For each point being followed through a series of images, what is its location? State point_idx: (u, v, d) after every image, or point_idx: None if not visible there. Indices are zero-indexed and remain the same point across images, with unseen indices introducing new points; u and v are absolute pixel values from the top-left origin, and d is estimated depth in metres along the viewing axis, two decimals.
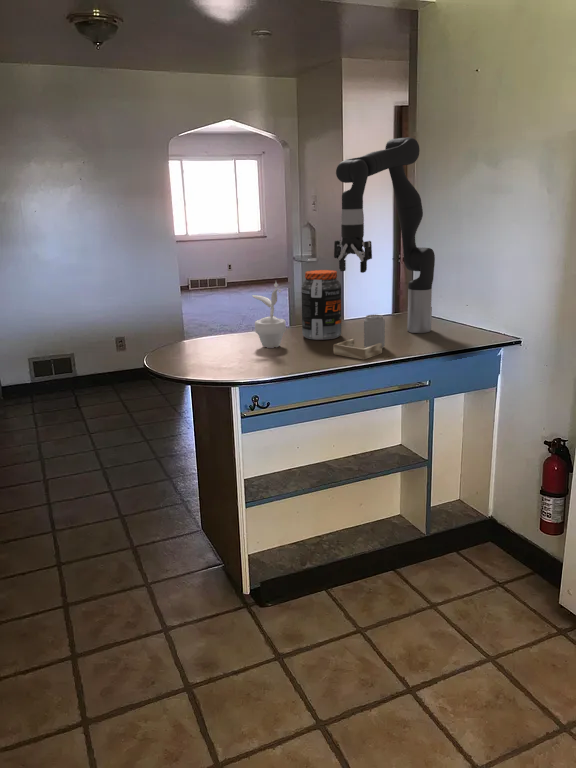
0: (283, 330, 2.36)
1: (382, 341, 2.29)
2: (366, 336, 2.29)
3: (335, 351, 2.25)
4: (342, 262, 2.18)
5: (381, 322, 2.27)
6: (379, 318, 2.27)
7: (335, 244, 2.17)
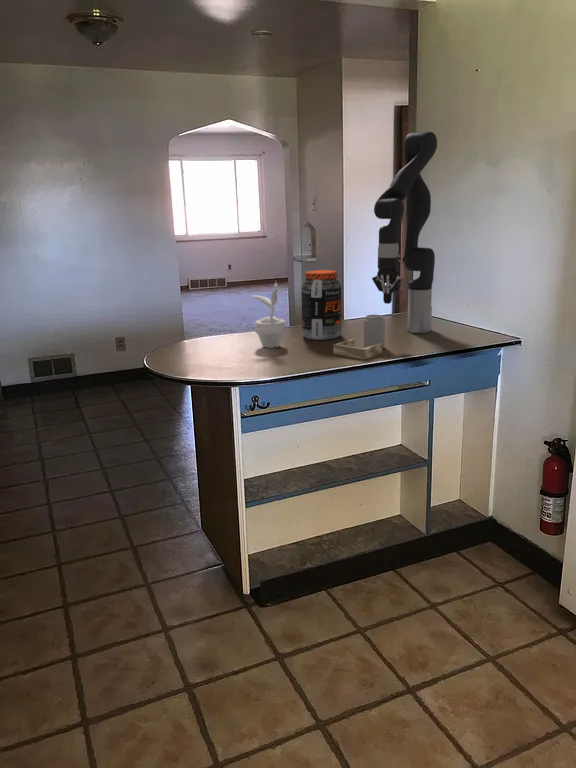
0: (283, 330, 2.36)
1: (382, 341, 2.29)
2: (366, 336, 2.29)
3: (335, 351, 2.25)
4: None
5: (381, 322, 2.27)
6: (379, 318, 2.27)
7: (374, 280, 2.34)
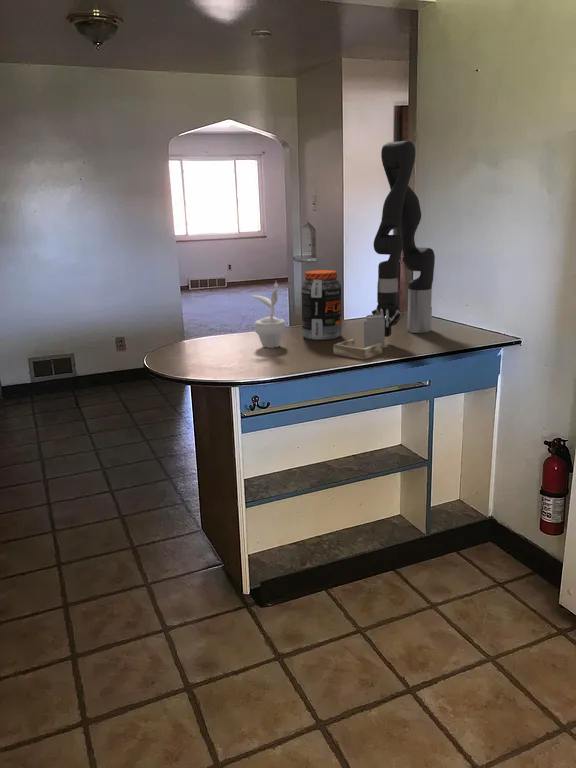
0: (283, 330, 2.36)
1: (382, 341, 2.29)
2: (366, 336, 2.29)
3: (335, 351, 2.25)
4: None
5: (381, 322, 2.27)
6: (379, 318, 2.27)
7: (373, 314, 2.38)
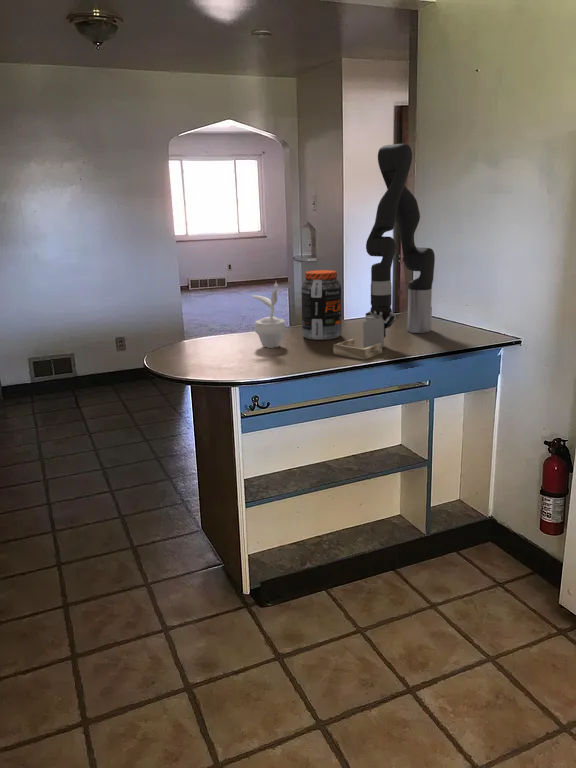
0: (283, 330, 2.36)
1: (381, 341, 2.29)
2: (365, 336, 2.29)
3: (335, 351, 2.25)
4: None
5: (380, 322, 2.27)
6: (378, 318, 2.27)
7: None
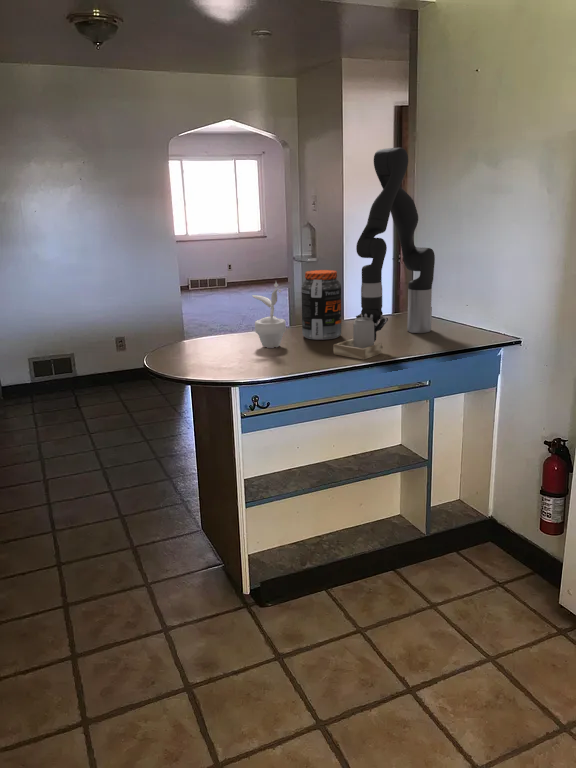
0: (283, 330, 2.36)
1: (371, 344, 2.25)
2: (355, 339, 2.25)
3: (335, 351, 2.25)
4: None
5: (370, 325, 2.22)
6: (368, 321, 2.22)
7: None
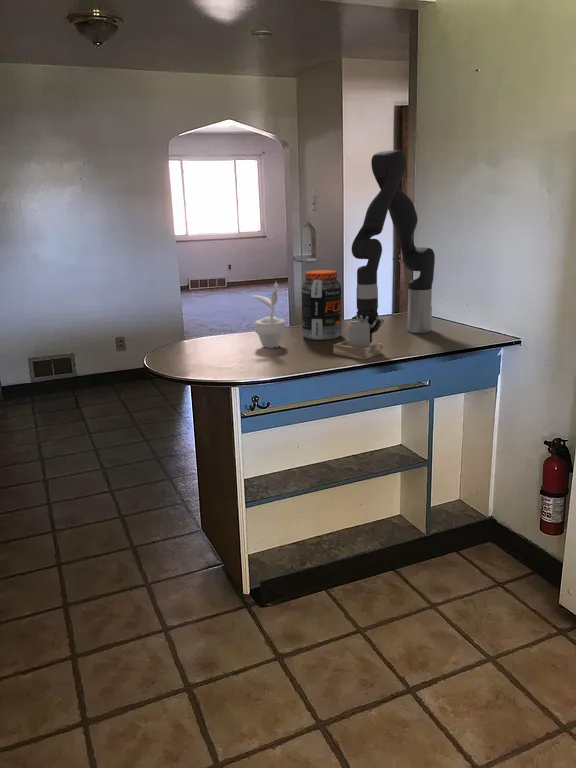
0: (283, 330, 2.36)
1: (367, 346, 2.23)
2: (350, 341, 2.23)
3: (335, 351, 2.25)
4: None
5: (365, 326, 2.21)
6: (363, 322, 2.21)
7: None
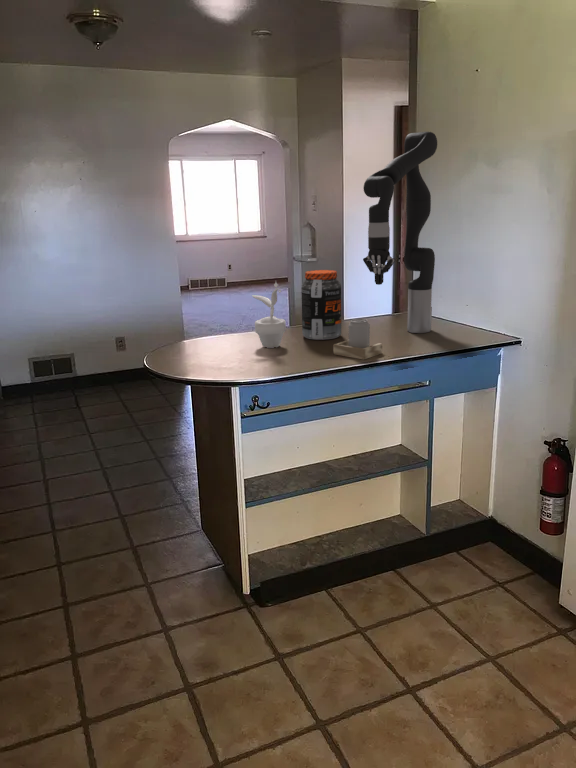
0: (283, 330, 2.36)
1: (366, 346, 2.23)
2: (350, 341, 2.23)
3: (335, 351, 2.25)
4: None
5: (365, 327, 2.20)
6: (363, 322, 2.21)
7: (365, 261, 2.29)
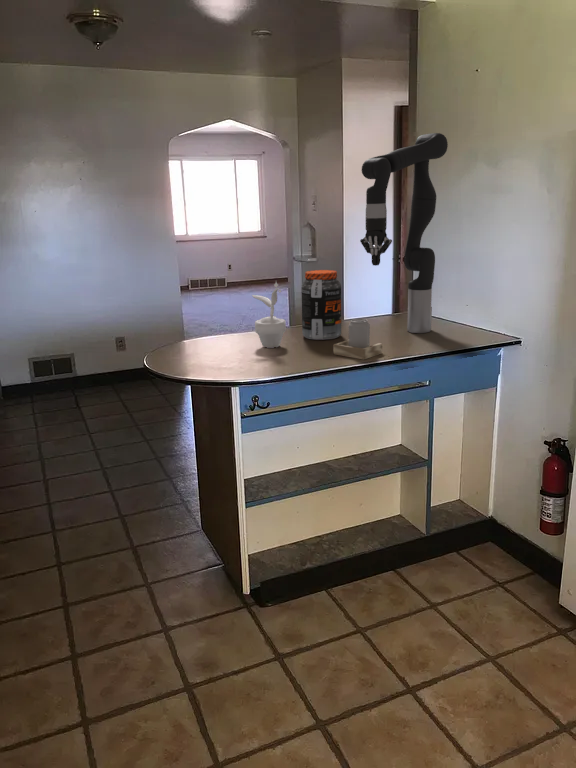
0: (283, 330, 2.36)
1: (366, 346, 2.23)
2: (350, 341, 2.23)
3: (335, 351, 2.25)
4: None
5: (365, 327, 2.20)
6: (363, 322, 2.21)
7: (362, 242, 2.33)
